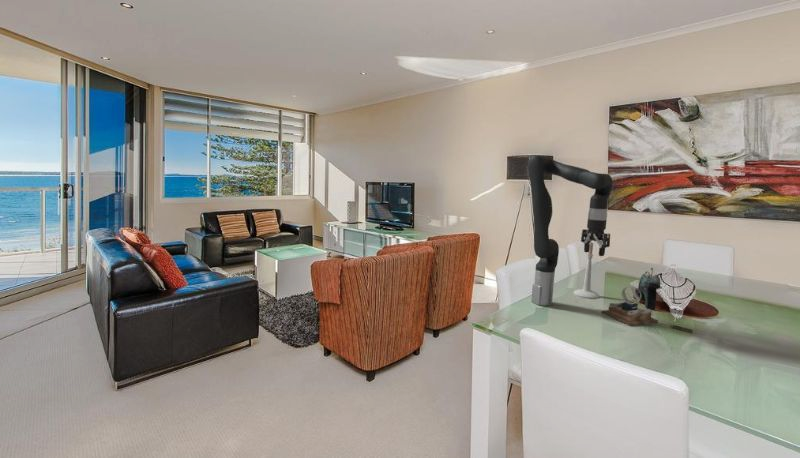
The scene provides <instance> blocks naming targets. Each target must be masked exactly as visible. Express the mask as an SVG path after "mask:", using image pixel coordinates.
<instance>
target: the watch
mask: <svg viewBox="0 0 800 458" xmlns="http://www.w3.org/2000/svg"><path fill="white" fill-rule="evenodd" d="M627 288H630V289H631V292H632V296H633V297H634V298H635V300H636V301H635V302H634V301H630V300H628V297H627V295H626V292H625V290H626V289H627ZM641 297H642V295H641V292H640V290H639V289H638V287H635V286H633V285H629V286H625V287H624V288H622V289H621V298H622V300H623V301H622V302H623V303H622V310H626V311H633V310H637V308H639V306H638V305H639V302H640V299H641Z"/></svg>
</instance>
